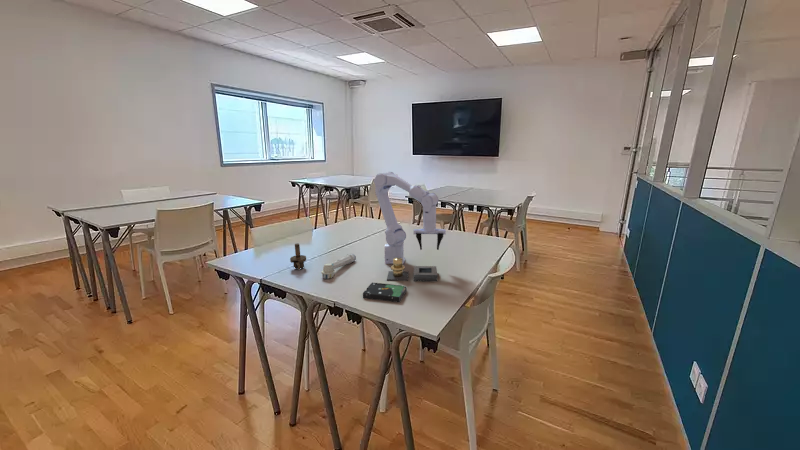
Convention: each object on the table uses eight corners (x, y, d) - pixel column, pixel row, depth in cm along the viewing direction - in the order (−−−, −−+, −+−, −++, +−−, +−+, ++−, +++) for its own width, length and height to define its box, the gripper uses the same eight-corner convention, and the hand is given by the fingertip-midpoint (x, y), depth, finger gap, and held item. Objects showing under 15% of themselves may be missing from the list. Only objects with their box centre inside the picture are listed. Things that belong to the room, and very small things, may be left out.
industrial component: (302, 271, 150) (300, 246, 147) (288, 270, 151) (285, 246, 148) (311, 264, 159) (309, 240, 156) (297, 263, 160) (295, 240, 157)
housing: (413, 281, 138) (413, 274, 137) (414, 272, 147) (414, 266, 146) (437, 281, 137) (437, 274, 136) (436, 272, 147) (436, 266, 146)
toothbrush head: (357, 253, 162) (329, 264, 139) (357, 267, 163) (329, 279, 139) (348, 252, 164) (318, 262, 140) (347, 265, 164) (318, 277, 141)
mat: (386, 280, 139) (386, 279, 139) (388, 272, 147) (388, 271, 147) (407, 280, 138) (407, 279, 138) (408, 272, 147) (408, 271, 147)
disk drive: (362, 300, 123) (400, 303, 119) (362, 293, 123) (400, 296, 119) (371, 288, 133) (406, 291, 129) (371, 282, 132) (406, 285, 128)
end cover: (390, 277, 140) (389, 261, 138) (392, 272, 146) (391, 256, 144) (404, 278, 140) (403, 261, 138) (405, 272, 145) (405, 256, 143)
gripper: (413, 222, 143) (413, 251, 146) (446, 222, 142) (445, 252, 145) (413, 218, 149) (413, 247, 153) (445, 218, 149) (444, 247, 152)
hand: (429, 249), depth 149 cm, fingers open, 7 cm apart
